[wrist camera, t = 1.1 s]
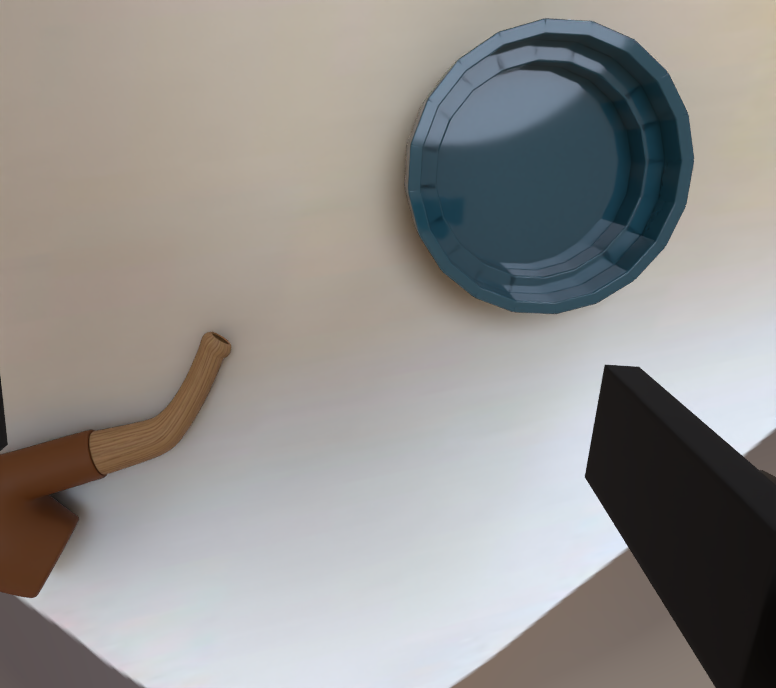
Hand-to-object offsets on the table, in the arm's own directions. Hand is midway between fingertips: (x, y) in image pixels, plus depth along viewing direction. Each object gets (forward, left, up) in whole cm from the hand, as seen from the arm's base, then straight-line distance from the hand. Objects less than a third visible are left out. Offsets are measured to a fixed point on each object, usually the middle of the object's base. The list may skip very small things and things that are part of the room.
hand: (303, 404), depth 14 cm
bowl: (-5, +10, -23) cm, 25 cm away
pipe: (+11, -14, -23) cm, 29 cm away
